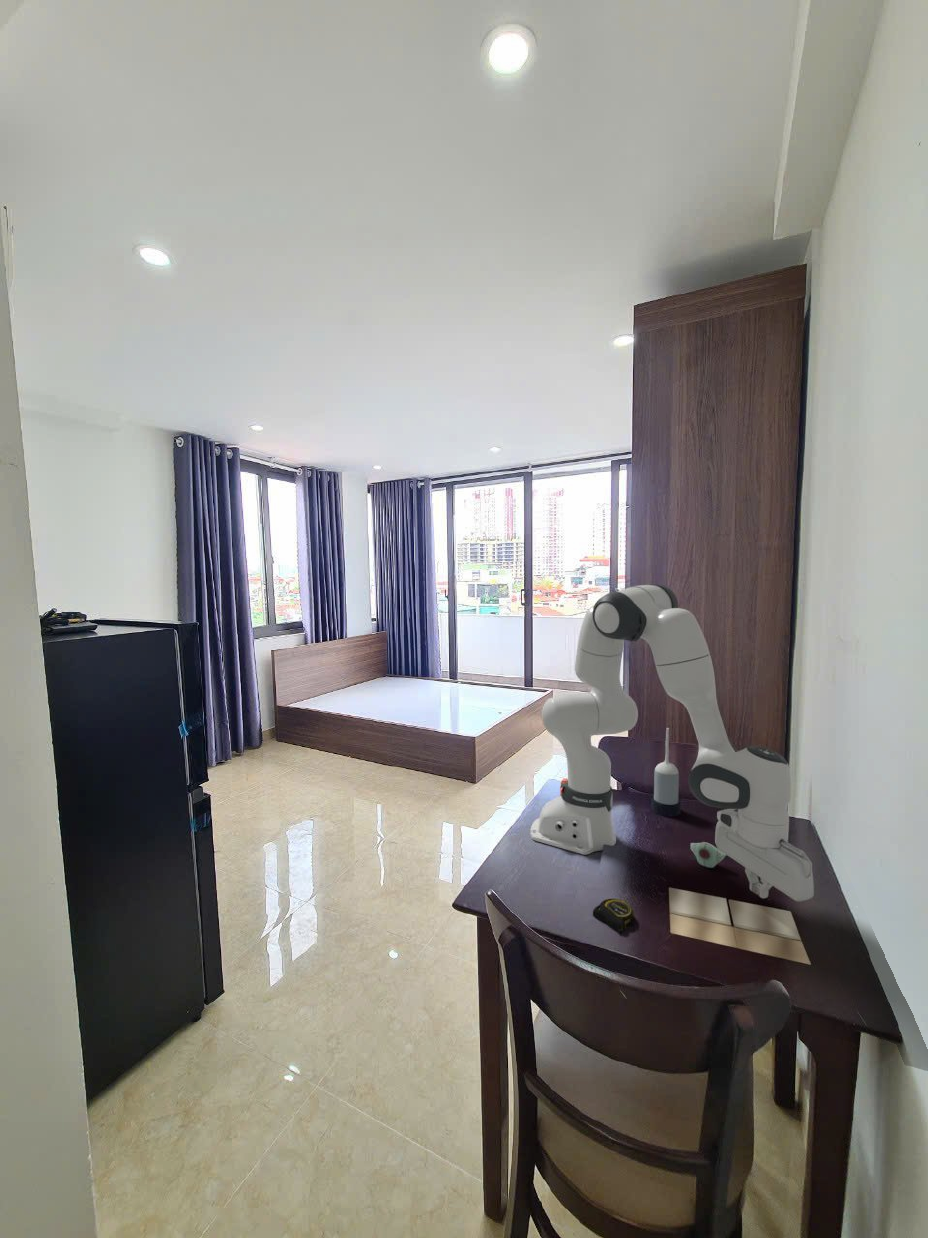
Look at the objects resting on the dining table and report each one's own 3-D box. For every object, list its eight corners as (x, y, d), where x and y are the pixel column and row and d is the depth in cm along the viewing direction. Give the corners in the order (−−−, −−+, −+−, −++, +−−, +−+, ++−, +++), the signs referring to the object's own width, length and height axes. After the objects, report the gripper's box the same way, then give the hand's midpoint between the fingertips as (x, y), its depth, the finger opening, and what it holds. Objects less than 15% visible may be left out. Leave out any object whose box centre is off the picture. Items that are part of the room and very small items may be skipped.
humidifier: (679, 807, 151) (681, 726, 150) (681, 818, 144) (683, 733, 142) (651, 803, 154) (652, 723, 153) (651, 814, 147) (652, 731, 145)
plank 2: (733, 933, 96) (734, 926, 96) (728, 906, 103) (728, 899, 103) (800, 948, 92) (801, 940, 92) (790, 918, 99) (790, 911, 99)
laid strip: (670, 940, 94) (670, 932, 94) (669, 920, 100) (669, 913, 100) (810, 973, 86) (811, 964, 86) (801, 949, 92) (801, 941, 92)
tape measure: (590, 923, 99) (590, 905, 99) (613, 910, 103) (613, 893, 103) (618, 943, 94) (618, 924, 94) (641, 928, 98) (641, 910, 97)
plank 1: (669, 919, 100) (669, 912, 100) (668, 893, 108) (668, 887, 107) (730, 932, 96) (731, 925, 96) (725, 905, 104) (726, 898, 103)
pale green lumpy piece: (726, 872, 116) (727, 844, 116) (722, 880, 113) (723, 852, 113) (690, 860, 122) (691, 834, 121) (685, 868, 118) (686, 840, 118)
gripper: (824, 853, 91) (820, 924, 92) (733, 804, 111) (731, 864, 112) (798, 859, 89) (794, 931, 90) (711, 808, 109) (708, 869, 110)
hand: (758, 894), depth 101 cm, fingers closed
